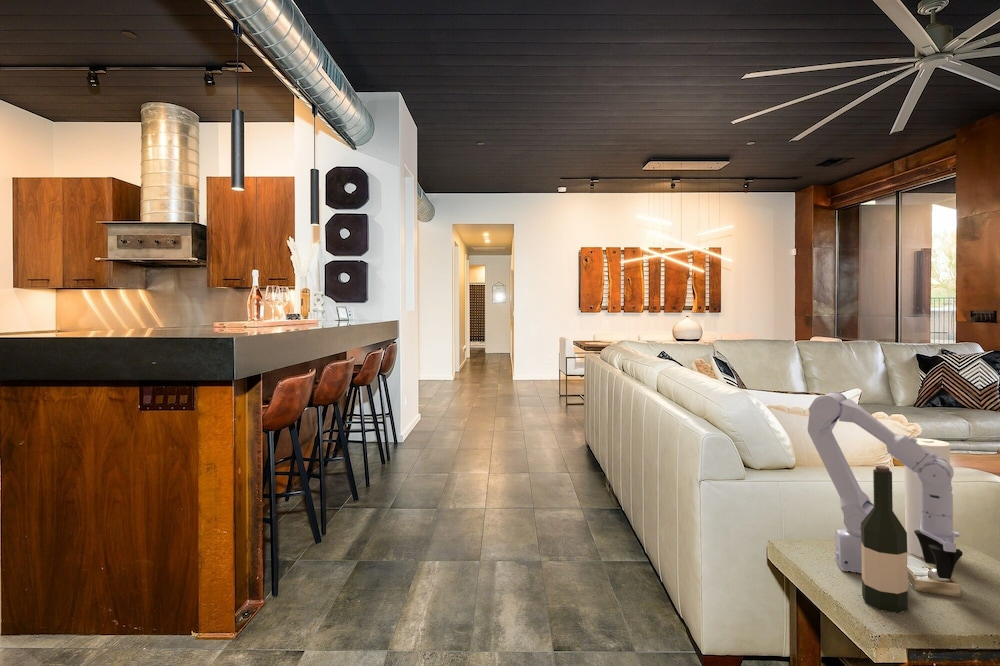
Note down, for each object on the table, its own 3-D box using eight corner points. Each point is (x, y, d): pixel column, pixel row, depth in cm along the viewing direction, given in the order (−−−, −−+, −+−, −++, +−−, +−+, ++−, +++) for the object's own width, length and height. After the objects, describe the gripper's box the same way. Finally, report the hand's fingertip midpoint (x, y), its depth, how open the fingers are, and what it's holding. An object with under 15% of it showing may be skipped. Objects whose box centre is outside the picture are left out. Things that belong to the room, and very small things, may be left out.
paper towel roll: (959, 562, 135) (957, 444, 134) (915, 558, 138) (913, 443, 137) (939, 547, 144) (938, 436, 143) (899, 544, 147) (897, 435, 146)
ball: (931, 589, 121) (932, 572, 121) (924, 579, 125) (924, 563, 125) (953, 591, 120) (953, 575, 120) (944, 581, 124) (945, 565, 123)
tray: (915, 590, 122) (915, 579, 121) (903, 574, 129) (903, 564, 129) (960, 596, 119) (960, 585, 118) (944, 579, 126) (944, 569, 126)
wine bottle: (853, 593, 121) (851, 462, 121) (890, 593, 121) (888, 462, 120) (878, 613, 113) (875, 472, 112) (918, 613, 112) (916, 472, 112)
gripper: (973, 525, 114) (973, 587, 115) (945, 503, 128) (945, 559, 128) (932, 521, 117) (933, 582, 117) (909, 500, 131) (910, 555, 131)
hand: (937, 570), depth 123 cm, fingers open, 7 cm apart
